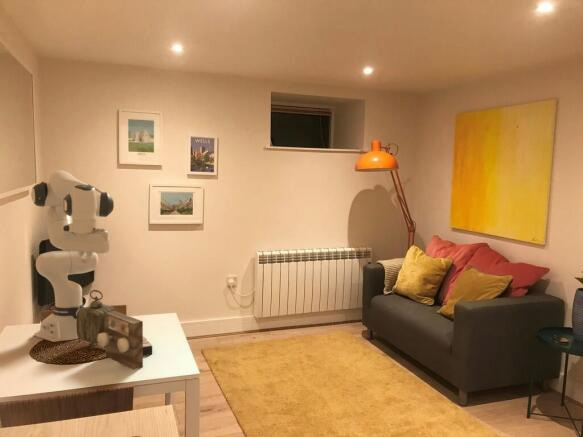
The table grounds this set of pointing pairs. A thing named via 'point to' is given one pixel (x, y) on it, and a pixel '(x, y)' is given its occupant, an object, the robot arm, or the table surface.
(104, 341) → the button
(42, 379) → the table surface
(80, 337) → the tabletop clock
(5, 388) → the table surface
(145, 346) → the calculator
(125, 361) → the button panel
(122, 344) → the button
